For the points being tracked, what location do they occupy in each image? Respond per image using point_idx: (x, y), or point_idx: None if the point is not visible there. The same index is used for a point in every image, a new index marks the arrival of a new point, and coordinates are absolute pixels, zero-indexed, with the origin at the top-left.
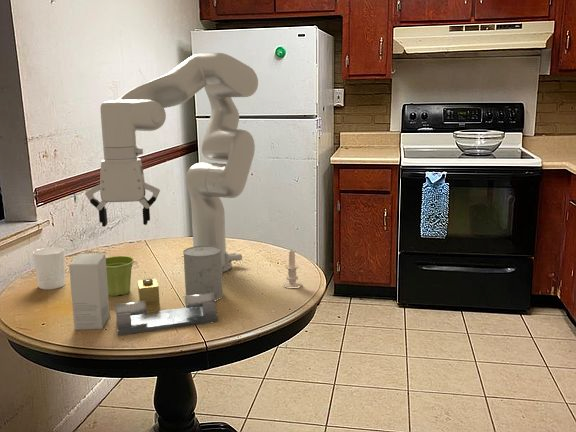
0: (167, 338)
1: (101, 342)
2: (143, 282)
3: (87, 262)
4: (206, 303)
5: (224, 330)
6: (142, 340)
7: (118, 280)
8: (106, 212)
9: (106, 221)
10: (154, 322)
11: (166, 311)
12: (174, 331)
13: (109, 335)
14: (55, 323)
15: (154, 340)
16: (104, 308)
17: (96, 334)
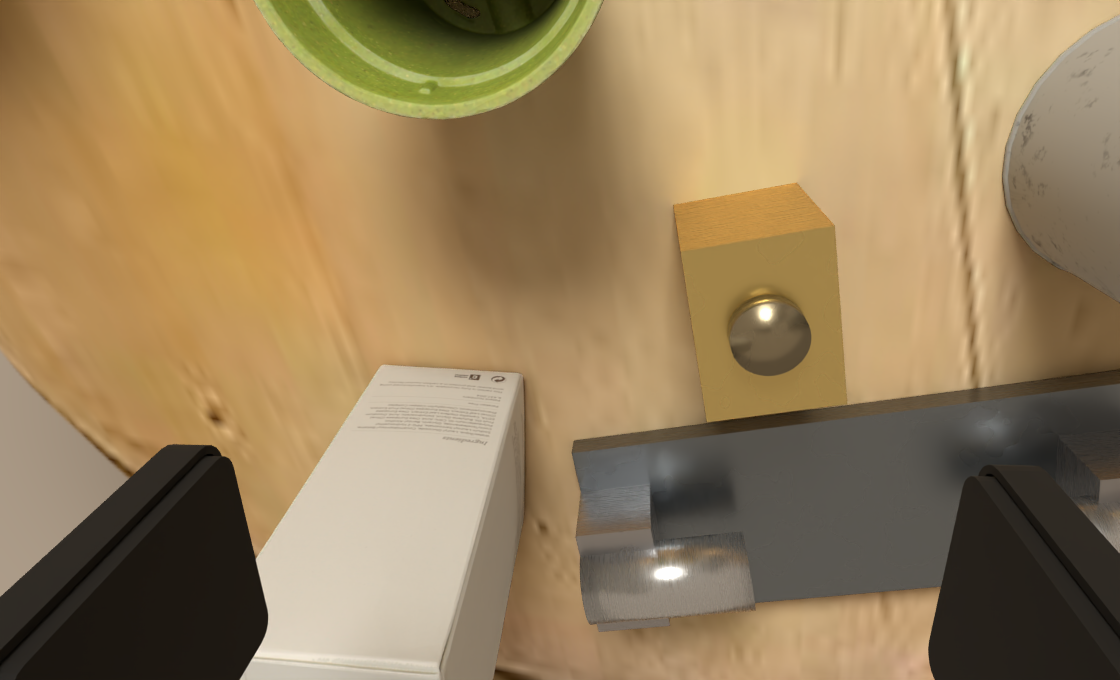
0: (833, 661)
1: (551, 640)
2: (737, 360)
3: None
4: None
5: None
6: (723, 656)
7: (498, 55)
8: (83, 618)
9: (217, 556)
10: (781, 562)
11: (851, 439)
12: (870, 607)
13: (571, 589)
14: (270, 420)
15: (775, 666)
16: (516, 536)
17: None
